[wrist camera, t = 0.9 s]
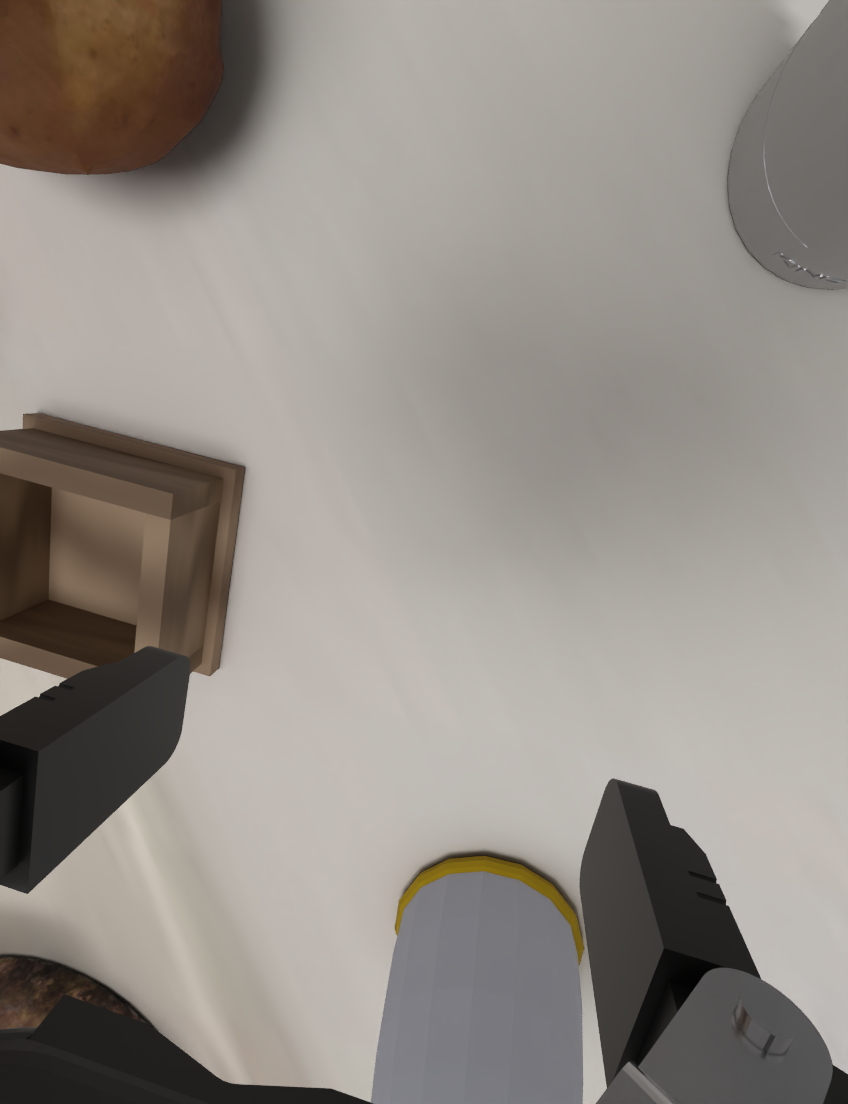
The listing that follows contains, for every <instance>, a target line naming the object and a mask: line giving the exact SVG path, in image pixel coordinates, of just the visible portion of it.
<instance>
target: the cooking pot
mask: <svg viewBox="0 0 848 1104" xmlns="http://www.w3.org/2000/svg"><path fill="white" fill-rule="evenodd" d="M64 994H65V995H68V996H71V997H74V998H76V999H79V1000H82V1001H85V1002H88V1003H91V1004H93V1005H96V1006H99V1007H102V1008H105V1009H107V1010H110V1011H113V1012H116V1013H119V1014H122V1015H124V1016H127V1017H130V1018H133V1019H136V1020H139V1021H141V1022H144V1023H147V1024H149V1023H148V1022H147V1021H146V1020H145V1019H144V1018H143V1017H142V1016H141V1015H140V1014H139V1013H138V1012H137V1011H135V1010H134V1009H133V1008H132V1007H131V1006H130V1005H129V1004H128V1003H127V1002H125V1001H124V1000H123V999H121V998H120V997H118V996H117V995H116V994H114V993H113V992H112V991H110V990H109V989H108V988H106V987H104V986H102V985H101V984H99V983H97V982H95V981H93V980H92V979H90V978H88V977H86V976H85V975H83V974H80V973H78V972H75V971H73V970H70V969H68V968H65V967H63V966H61V965H58V964H54V963H50V962H46V961H42V960H38V959H34V958H23V957H13V956H11V957H0V1029H7V1028H20V1027H38V1026H39V1025H40V1024H41V1022H42V1021H43V1020H44V1019H45V1017H46V1016H47V1015H48V1014H49V1012H50V1011H51V1010H52V1009H53V1007H54V1006H55V1005H56V1004H57V1002H58V1001H59V1000H60V999H61V997H62V996H63V995H64ZM149 1025H150V1024H149Z"/></svg>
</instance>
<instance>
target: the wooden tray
mask: <svg viewBox="0 0 848 1104" xmlns="http://www.w3.org/2000/svg"><path fill="white" fill-rule="evenodd" d="M244 472H245V467H242V466H238V465H234V464H230V463H227V462H223V461H219V460H215V459H211V458H207V457H204V456H200V455H196V454H192V453H188V452H184V451H181V450H177V449H173V448H169V447H165V446H161V445H158V444H154V443H150V442H146V441H142V440H139V439H135V438H131V437H127V436H123V435H119V434H116V433H112V432H108V431H104V430H100V429H96V428H93V427H89V426H85V425H81V424H77V423H73V422H70V421H66V420H62V419H58V418H54V417H51V416H47V415H43V414H39V413H34V414H23V429H18V430H6V431H0V658H3V659H6V660H9V661H12V662H15V663H19V664H22V665H25V666H28V667H32V668H35V669H38V670H41V671H45V672H48V673H51V674H54V675H58V676H61V677H64V678H67V679H68V678H70V677H72V676H74V675H76V674H77V673H79V672H81V671H83V670H87V669H90V668H94V667H98V666H102V665H105V664H109V663H118V662H120V661H122V660H123V659H125V658H127V657H129V656H130V655H132V654H134V653H135V652H137V651H139V650H141V649H142V648H144V647H146V646H153V647H156V648H160V649H163V650H167V651H170V652H174V653H177V654H181V655H184V656H187V657H188V658H189V660H190V673H191V672H193V671H194V672H197V673H201V674H204V675H207V676H211V675H212V674H213V673H214V672H215V671H216V670H217V669H219V663H220V655H221V648H222V640H223V632H224V625H225V617H226V610H227V602H228V594H229V587H230V579H231V571H232V564H233V556H234V549H235V541H236V533H237V526H238V518H239V510H240V503H241V495H242V488H243V480H244Z"/></svg>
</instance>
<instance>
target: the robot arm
mask: <svg viewBox="0 0 848 1104" xmlns="http://www.w3.org/2000/svg"><path fill="white" fill-rule="evenodd" d="M728 194H729V206H730V210H731V213H732V217H733V220H734V224H735V227H736V230H737V232H738V234H739V235H740V237H741V239H742V241H743V242H744V244H745V246H746V248H747V250H748V251H749V252H750V253H751V254H752V255H753V256H754V257H755V258H756V259H757V260H758V261H759V262H760V263H761V264H762V266H763V267H765V268H766V269H768V270H769V271H771V272H773V273H774V274H776V275H777V276H779V277H781V278H782V279H784V280H787V281H790V282H793V283H796V284H799V285H802V286H805V287H811V288H821V289H841V288H848V0H829V2H828V3H827V4H826V5H825V7H824V8H823V9H822V11H821V13H820V15H819V16H818V17H817V18H816V19H815V21H814V22H813V23H812V24H811V25H810V27H809V28H808V29H807V30H806V32H805V33H804V34H803V36H802V37H801V38H800V40H799V41H798V42H797V43H796V45H795V46H794V47H793V49H792V50H791V51H790V53H789V54H788V55H787V57H786V58H785V59H784V60H783V62H782V63H781V64H780V66H779V67H778V68H777V70H776V71H775V72H774V74H773V75H772V76H771V77H770V79H769V80H768V81H767V83H766V84H765V85H764V86H763V88H762V89H761V90H760V91H759V93H758V94H757V95H756V97H755V99H754V100H753V102H752V104H751V106H750V108H749V110H748V111H747V113H746V115H745V117H744V119H743V120H742V122H741V125H740V128H739V131H738V134H737V137H736V139H735V142H734V145H733V148H732V152H731V159H730V166H729V172H728ZM189 675H190V660H189V658H188V657H187V656H184V655H181V654H177V653H174V652H170V651H167V650H163V649H160V648H156V647H153V646H146V647H144V648H142V649H141V650H139V651H137V652H135V653H134V654H132V655H130V656H129V657H127V658H125V659H123V660H122V661H120V662H118V663H109V664H105V665H102V666H98V667H94V668H90V669H87V670H83V671H81V672H79V673H77V674H76V675H74V676H72V677H70V678H68V679H67V680H65V681H63V682H61V683H60V685H59V686H54V687H52V688H50V689H49V690H47V691H45V692H43V693H41V694H40V697H39V698H38V697H34V698H32V699H30V700H29V701H27V702H25V703H23V704H21V705H20V706H18V707H16V708H14V709H12V710H11V711H9V712H7V713H5V714H3V715H2V716H0V885H3V886H6V887H8V888H11V889H14V890H17V891H20V892H23V893H26V894H28V893H29V892H30V891H31V890H32V889H33V888H34V887H35V886H36V885H37V884H39V883H40V882H41V881H42V880H43V879H44V878H45V877H46V876H47V875H48V874H49V873H50V872H51V871H52V870H53V869H54V868H55V867H56V866H58V865H59V864H60V863H61V862H62V861H63V860H64V859H65V858H66V857H67V856H68V855H69V854H70V853H71V852H72V851H73V850H74V849H75V848H77V847H78V846H79V845H80V844H81V843H82V842H83V841H84V840H85V839H86V838H87V837H88V836H89V835H90V834H91V833H92V832H93V831H94V830H96V829H97V828H98V827H99V826H100V825H101V824H102V823H103V822H104V821H105V820H106V819H107V818H108V817H109V816H110V815H111V814H112V813H113V812H115V811H116V810H117V809H118V808H119V807H120V806H121V805H122V804H123V803H124V802H125V801H126V800H127V799H128V798H129V797H130V796H131V795H132V794H134V793H135V792H136V791H137V790H138V789H139V788H140V787H141V786H142V785H143V784H144V783H145V782H146V781H147V780H148V779H149V778H150V777H151V776H153V775H154V774H155V773H156V772H157V771H158V770H159V769H160V768H161V767H162V766H163V765H164V764H165V763H166V762H167V761H168V760H169V758H170V757H171V755H172V754H173V752H174V750H175V748H176V746H177V744H178V741H179V738H180V735H181V731H182V725H183V718H184V711H185V704H186V697H187V690H188V683H189ZM716 880H717V879H716V876H715V874H714V872H713V870H712V868H711V865H710V863H709V861H708V859H707V856H706V854H705V853H704V852H703V851H702V849H701V848H700V847H699V846H698V845H697V844H696V843H695V841H694V840H693V839H692V838H691V837H690V836H689V835H688V834H687V832H686V831H685V830H684V829H682V828H678V827H675V826H671V825H670V823H669V821H668V818H667V815H666V813H665V810H664V808H663V805H662V803H661V800H660V797H659V795H658V793H657V792H656V791H655V790H652V789H649V788H645V787H642V786H638V785H635V784H631V783H628V782H624V781H621V780H617V779H611V780H610V781H609V782H608V784H607V786H606V788H605V791H604V794H603V797H602V800H601V803H600V806H599V809H598V812H597V815H596V818H595V821H594V824H593V827H592V830H591V833H590V836H589V839H588V842H587V845H586V848H585V851H584V855H583V859H582V864H581V871H580V895H581V902H582V909H583V917H584V924H585V931H586V939H587V946H588V953H589V960H590V968H591V975H592V982H593V990H594V997H595V1004H596V1011H597V1019H598V1026H599V1033H600V1041H601V1048H602V1055H603V1062H604V1070H605V1077H606V1084H607V1089H606V1091H605V1092H604V1093H603V1095H602V1096H601V1097H600V1099H599V1100H598V1101H597V1103H596V1104H848V1074H846V1073H845V1072H843V1071H842V1070H840V1069H838V1068H837V1067H835V1066H834V1065H833V1064H832V1060H831V1057H830V1053H829V1051H828V1048H827V1046H826V1044H825V1042H824V1040H823V1039H822V1037H821V1035H820V1034H819V1032H818V1030H817V1029H816V1028H815V1026H814V1025H813V1024H812V1022H811V1021H810V1020H809V1019H808V1018H807V1016H806V1015H805V1014H804V1013H803V1012H802V1011H801V1010H800V1009H799V1008H798V1007H797V1006H796V1005H795V1004H794V1003H793V1002H792V1001H791V1000H790V999H788V998H787V997H786V996H785V995H784V994H782V993H781V992H780V991H778V990H777V989H776V988H774V987H773V986H771V985H770V984H768V983H766V982H765V981H763V980H761V978H760V975H759V973H758V971H757V969H756V966H755V964H754V962H753V960H752V957H751V955H750V953H749V951H748V948H747V946H746V944H745V942H744V939H743V937H742V935H741V933H740V930H739V928H738V926H737V924H736V921H735V919H734V917H733V915H732V912H731V910H730V908H729V906H726V899H725V897H724V894H723V892H722V890H721V888H720V885H719V884H716ZM0 1104H373V1103H370V1102H367V1101H364V1100H362V1099H359V1098H356V1097H353V1096H350V1095H348V1094H345V1093H342V1092H339V1091H336V1090H333V1089H326V1088H305V1087H284V1086H262V1085H241V1084H231V1083H228V1082H225V1081H223V1080H221V1079H219V1078H218V1077H216V1076H215V1075H214V1074H212V1073H211V1072H210V1071H208V1070H207V1069H206V1068H205V1067H203V1066H202V1065H201V1064H199V1063H198V1062H197V1061H196V1060H194V1059H193V1058H192V1057H190V1056H189V1055H188V1054H186V1053H185V1052H184V1051H183V1050H181V1049H180V1048H179V1047H177V1046H176V1045H175V1044H174V1043H172V1042H171V1041H170V1040H168V1039H167V1038H166V1037H165V1036H163V1035H162V1034H161V1033H159V1032H158V1031H157V1030H155V1029H154V1028H153V1027H152V1026H150V1025H149V1024H147V1023H144V1022H141V1021H139V1020H136V1019H133V1018H130V1017H127V1016H124V1015H122V1014H119V1013H116V1012H113V1011H110V1010H107V1009H105V1008H102V1007H99V1006H96V1005H93V1004H91V1003H88V1002H85V1001H82V1000H79V999H76V998H74V997H71V996H68V995H65V994H64V995H63V996H62V997H61V999H60V1000H59V1001H58V1002H57V1004H56V1005H55V1006H54V1007H53V1009H52V1010H51V1011H50V1012H49V1014H48V1015H47V1016H46V1017H45V1019H44V1020H43V1021H42V1022H41V1024H40V1025H39V1026H38V1027H20V1028H7V1029H0Z"/></svg>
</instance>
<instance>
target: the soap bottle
mask: <svg viewBox="0 0 848 1104" xmlns="http://www.w3.org/2000/svg"><path fill="white" fill-rule="evenodd" d="M395 931H396V934H397V940H396V944H395V948H394V953H393V958H392V964H391V970H390V975H389V981H388V987H387V993H386V999H385V1005H384V1011H383V1017H382V1023H381V1029H380V1035H379V1042H378V1048H377V1055H376V1063H375V1072H374V1080H373V1089H372V1098H371V1103H373V1104H582V1100H583V1045H582V1001H581V989H580V977H579V964H580V961H581V957H582V954H583V950H584V946H583V941H582V937H581V933H580V929H579V925H578V920H577V917H576V915H575V913H574V911H573V910H572V908H571V907H570V906H569V905H568V903H567V902H566V901H565V899H564V898H563V897H562V896H561V894H560V893H559V892H558V890H557V889H556V888H555V887H554V885H553V884H551V883H550V882H548V881H547V880H545V879H543V878H542V877H540V876H539V875H537V874H535V873H534V872H532V871H531V870H529V869H527V868H526V867H524V866H522V865H521V864H516V863H512V862H508V861H504V860H500V859H496V858H492V857H488V856H475V857H464V858H452V859H448V860H445V861H443V862H441V863H439V864H437V865H435V866H433V867H431V868H429V869H427V870H425V871H423V872H421V873H420V874H419V876H418V877H417V878H416V879H415V881H414V882H413V883H412V884H411V886H410V887H409V888H408V890H407V891H406V892H405V893H404V895H403V896H402V897H401V899H400V900H399V905H398V911H397V918H396V924H395Z"/></svg>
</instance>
